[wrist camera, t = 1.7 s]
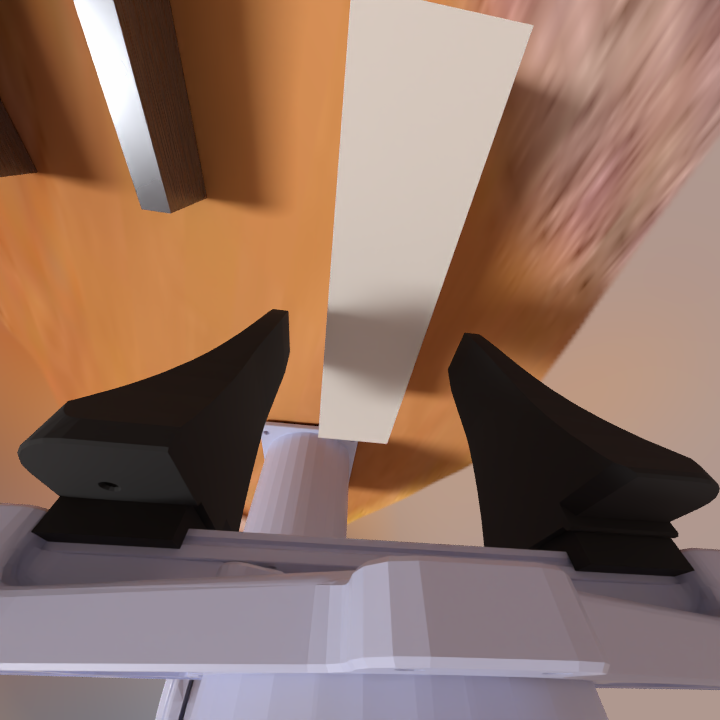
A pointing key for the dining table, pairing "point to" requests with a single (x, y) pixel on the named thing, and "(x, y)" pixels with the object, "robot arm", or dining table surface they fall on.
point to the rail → (404, 191)
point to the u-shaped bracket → (135, 102)
